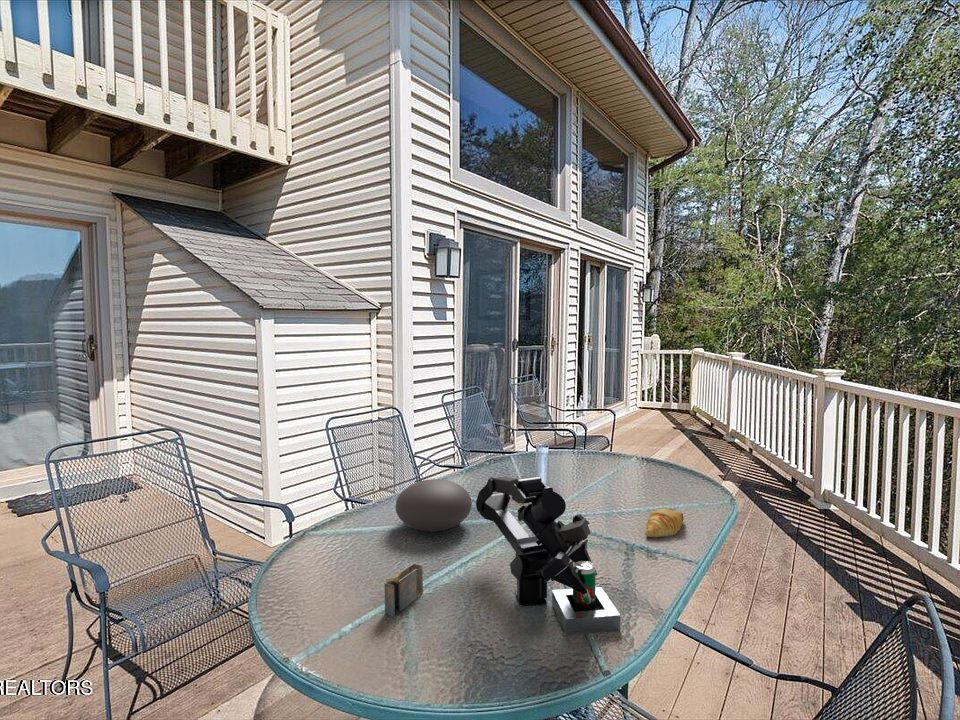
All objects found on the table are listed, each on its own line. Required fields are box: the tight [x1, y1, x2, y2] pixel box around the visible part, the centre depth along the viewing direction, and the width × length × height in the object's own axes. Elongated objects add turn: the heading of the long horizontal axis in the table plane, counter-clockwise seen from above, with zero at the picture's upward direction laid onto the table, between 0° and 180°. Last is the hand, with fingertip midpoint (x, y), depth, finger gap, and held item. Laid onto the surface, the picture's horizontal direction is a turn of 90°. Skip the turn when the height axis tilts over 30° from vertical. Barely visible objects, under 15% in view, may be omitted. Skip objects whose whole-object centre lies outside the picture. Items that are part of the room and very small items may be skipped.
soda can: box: [573, 561, 597, 612], centre depth 117 cm, size 5×5×12 cm
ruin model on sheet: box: [383, 562, 424, 617], centre depth 123 cm, size 11×3×10 cm, turn 151°
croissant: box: [644, 508, 684, 538], centre depth 165 cm, size 21×10×8 cm, turn 133°
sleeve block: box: [551, 586, 621, 636], centre depth 117 cm, size 12×12×4 cm
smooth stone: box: [394, 478, 473, 533], centre depth 169 cm, size 25×25×15 cm
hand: (591, 584), depth 116 cm, fingers open, 8 cm apart
